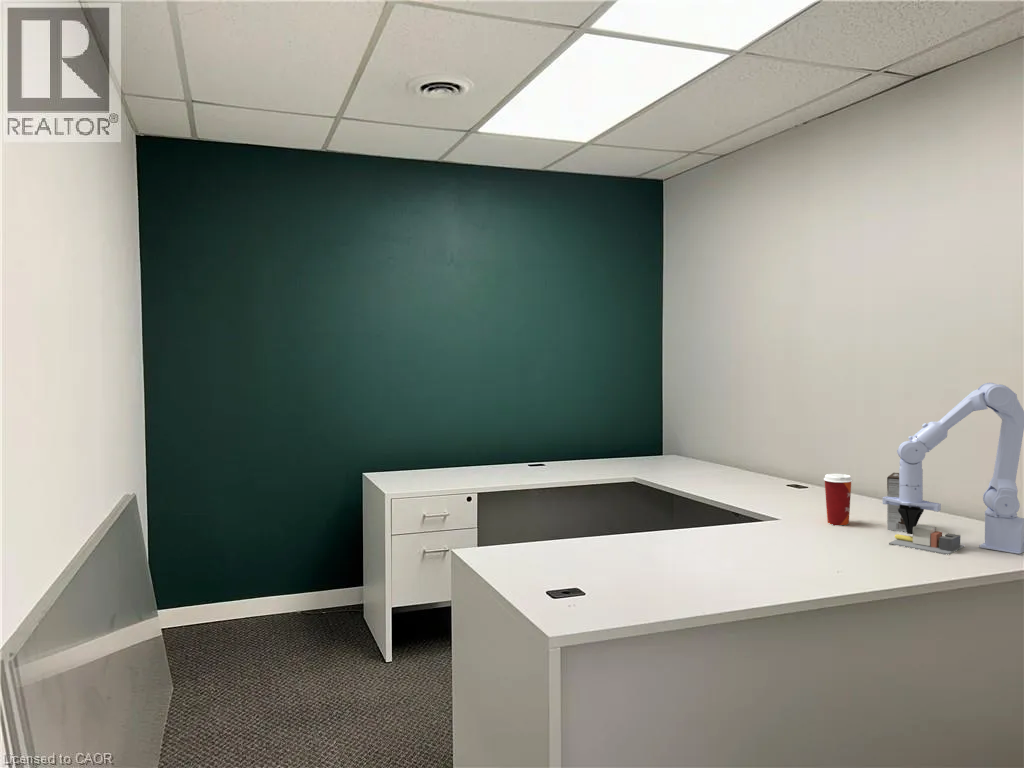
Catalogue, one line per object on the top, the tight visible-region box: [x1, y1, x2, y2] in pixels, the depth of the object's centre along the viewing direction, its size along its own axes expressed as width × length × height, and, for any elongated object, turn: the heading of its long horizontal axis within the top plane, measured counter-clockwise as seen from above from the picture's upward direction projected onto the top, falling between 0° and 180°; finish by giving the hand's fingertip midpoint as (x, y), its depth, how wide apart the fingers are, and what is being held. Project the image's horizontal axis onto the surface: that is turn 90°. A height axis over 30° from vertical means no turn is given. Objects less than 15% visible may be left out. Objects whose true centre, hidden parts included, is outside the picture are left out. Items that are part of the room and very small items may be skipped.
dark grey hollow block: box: [939, 532, 961, 552], centre depth 199 cm, size 4×6×3 cm, turn 130°
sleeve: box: [912, 524, 937, 546], centre depth 203 cm, size 4×4×4 cm
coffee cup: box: [823, 473, 853, 526], centre depth 229 cm, size 8×8×15 cm
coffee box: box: [886, 472, 907, 533], centre depth 222 cm, size 9×6×16 cm
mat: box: [888, 539, 965, 556], centre depth 203 cm, size 15×11×1 cm
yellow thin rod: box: [894, 533, 939, 545], centre depth 204 cm, size 13×1×1 cm, turn 40°
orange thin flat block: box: [931, 530, 943, 548], centre depth 201 cm, size 1×4×4 cm, turn 130°
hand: (910, 533), depth 206 cm, fingers closed
